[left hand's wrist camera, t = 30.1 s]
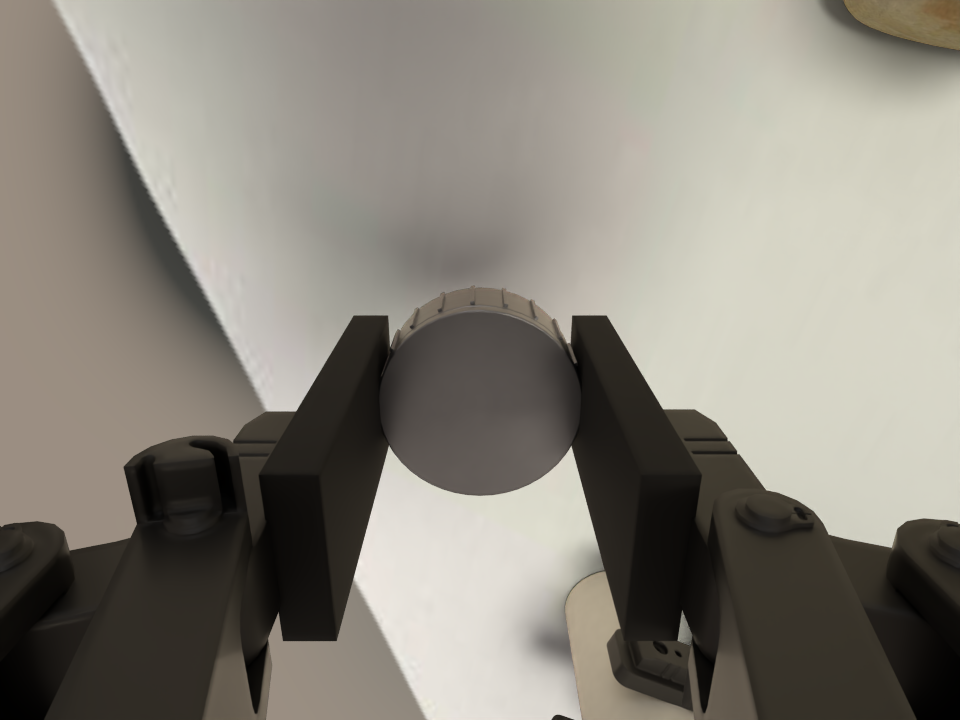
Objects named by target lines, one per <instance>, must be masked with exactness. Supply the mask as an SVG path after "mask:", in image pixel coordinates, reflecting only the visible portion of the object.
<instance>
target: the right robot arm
mask: <svg viewBox="0 0 960 720" xmlns="http://www.w3.org/2000/svg"><path fill="white" fill-rule="evenodd" d="M690 648H691V646H689V645H686V644H684V643H681V642H678V641H624V640H623V636H622V632H621V629H617V630H616V631H615V632H614V634H613V635H612V637H611V638H610V639H609V641H608V642H607V650H608V655H609V659H610V664H611V668H612V672H613V675H614V677H615V679H616V680H617V681H618V682H619V683H620V684H621V685H622V686H624V687H626V688H629V689H631V690H634V691H637V692H640V693H642V694H645V695H648V696H651V697H654V698H656V699H659V700H662V701H665V702H667V703H670V704H673V705H676V706H679V707H682V706H681V705H682V699H683V692H684V686H685V680H686V673H687V667H688V661H689V655H690ZM682 708H684V709H687V710H690V711H692V712H693V704H692V699H691V704H690V708H688V707H682ZM552 720H573V719H570V718H568V717H565V716H562V715H555V716H554V717H553V718H552Z"/></svg>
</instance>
